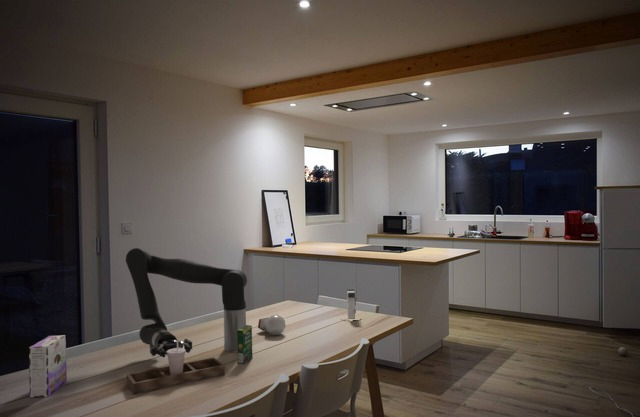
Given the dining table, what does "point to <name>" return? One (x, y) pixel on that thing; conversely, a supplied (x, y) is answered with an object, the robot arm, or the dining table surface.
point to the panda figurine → (351, 303)
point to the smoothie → (176, 359)
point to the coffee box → (244, 344)
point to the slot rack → (163, 379)
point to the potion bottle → (272, 324)
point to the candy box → (47, 365)
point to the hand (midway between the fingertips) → (176, 352)
